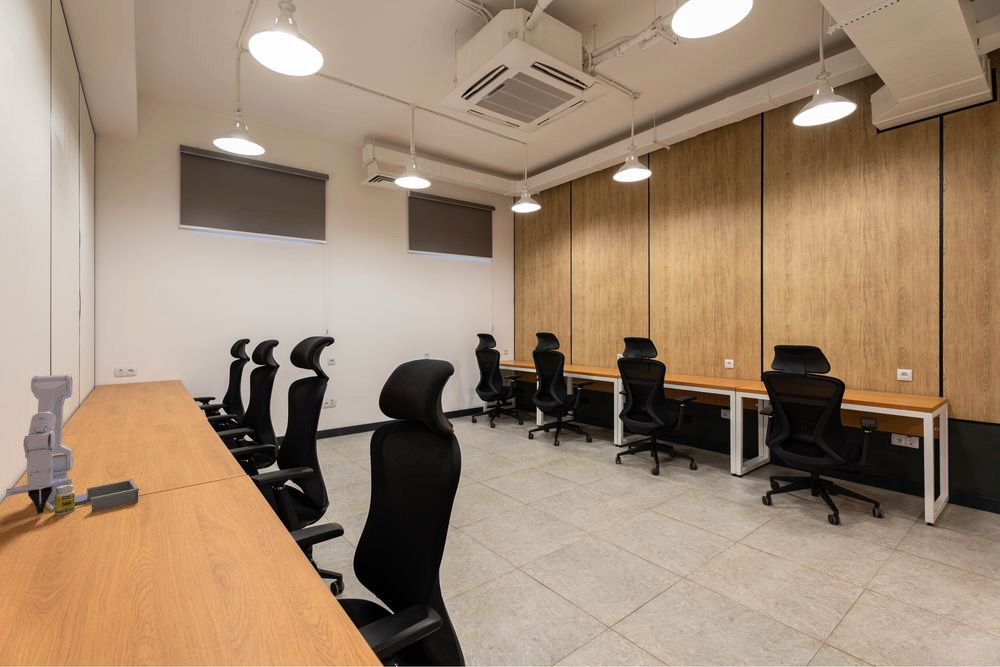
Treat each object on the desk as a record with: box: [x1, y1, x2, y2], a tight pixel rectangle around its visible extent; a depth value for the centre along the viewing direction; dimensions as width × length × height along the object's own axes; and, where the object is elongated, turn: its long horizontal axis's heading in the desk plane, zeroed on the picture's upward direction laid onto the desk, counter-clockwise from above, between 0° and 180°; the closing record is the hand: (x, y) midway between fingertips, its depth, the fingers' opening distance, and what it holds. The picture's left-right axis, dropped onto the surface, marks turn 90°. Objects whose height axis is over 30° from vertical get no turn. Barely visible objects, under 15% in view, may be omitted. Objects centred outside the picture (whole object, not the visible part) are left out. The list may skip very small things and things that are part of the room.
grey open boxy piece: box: [86, 478, 140, 513], centre depth 155 cm, size 14×12×5 cm
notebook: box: [45, 493, 91, 511], centre depth 154 cm, size 8×11×1 cm
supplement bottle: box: [54, 484, 76, 515], centre depth 146 cm, size 5×5×8 cm
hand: (40, 512), depth 142 cm, fingers closed
